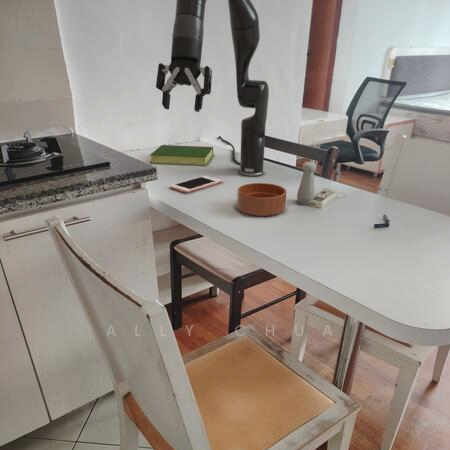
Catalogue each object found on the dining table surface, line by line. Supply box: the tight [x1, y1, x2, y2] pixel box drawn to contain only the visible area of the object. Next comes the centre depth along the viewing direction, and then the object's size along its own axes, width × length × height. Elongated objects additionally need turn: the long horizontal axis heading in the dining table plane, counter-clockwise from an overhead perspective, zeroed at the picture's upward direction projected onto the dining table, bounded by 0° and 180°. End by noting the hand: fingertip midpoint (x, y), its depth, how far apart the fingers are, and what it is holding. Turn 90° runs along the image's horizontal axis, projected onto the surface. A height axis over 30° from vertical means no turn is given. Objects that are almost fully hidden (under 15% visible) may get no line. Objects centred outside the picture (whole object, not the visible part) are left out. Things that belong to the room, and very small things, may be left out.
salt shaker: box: [296, 161, 317, 206], centre depth 133 cm, size 6×6×13 cm
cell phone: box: [170, 175, 222, 194], centre depth 151 cm, size 9×18×1 cm, turn 137°
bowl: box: [236, 182, 287, 217], centre depth 130 cm, size 15×15×6 cm
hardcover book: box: [150, 144, 214, 167], centre depth 184 cm, size 25×19×4 cm
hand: (181, 110), depth 107 cm, fingers open, 8 cm apart
